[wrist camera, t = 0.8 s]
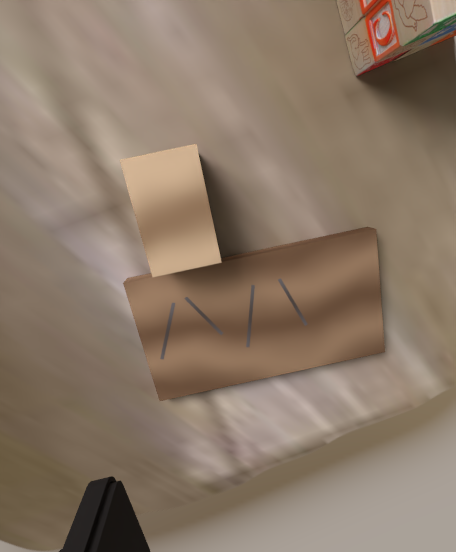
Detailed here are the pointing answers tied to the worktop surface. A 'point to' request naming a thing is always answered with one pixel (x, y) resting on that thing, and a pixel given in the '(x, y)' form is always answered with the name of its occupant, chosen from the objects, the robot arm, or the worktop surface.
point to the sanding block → (172, 209)
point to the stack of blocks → (393, 28)
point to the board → (260, 313)
